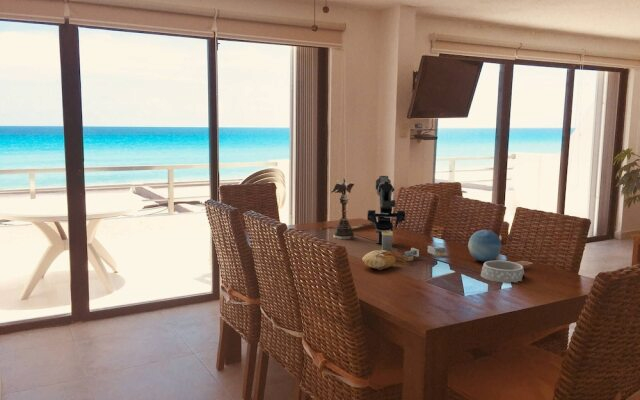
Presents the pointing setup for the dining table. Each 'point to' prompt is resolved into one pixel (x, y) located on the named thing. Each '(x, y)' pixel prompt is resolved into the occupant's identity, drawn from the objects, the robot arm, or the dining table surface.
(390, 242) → the block
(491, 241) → the decorative ball
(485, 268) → the dog bowl
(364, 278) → the dining table surface
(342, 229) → the bird statue
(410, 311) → the dining table surface
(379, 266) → the nautilus
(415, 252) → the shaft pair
